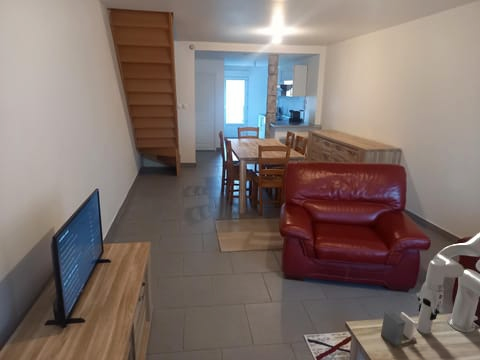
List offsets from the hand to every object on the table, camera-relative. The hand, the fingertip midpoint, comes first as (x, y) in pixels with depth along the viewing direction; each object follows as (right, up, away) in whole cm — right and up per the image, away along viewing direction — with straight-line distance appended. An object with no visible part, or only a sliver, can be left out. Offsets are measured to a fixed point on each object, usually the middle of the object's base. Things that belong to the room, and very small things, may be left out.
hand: (426, 314), depth 176 cm
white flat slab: (-12, -9, -3) cm, 15 cm away
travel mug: (0, -9, +3) cm, 10 cm away
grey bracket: (-16, -11, -3) cm, 19 cm away
